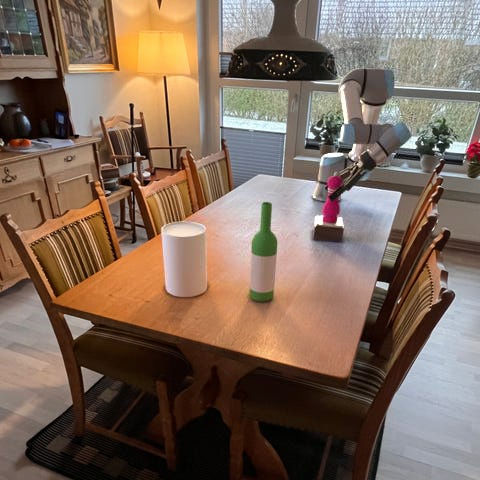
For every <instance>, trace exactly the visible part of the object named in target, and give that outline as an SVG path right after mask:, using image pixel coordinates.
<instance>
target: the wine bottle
mask: <svg viewBox="0 0 480 480" xmlns="http://www.w3.org/2000/svg"><path fill="white" fill-rule="evenodd" d="M260 209H261V210H260V225H259V226H260V227H259V230H258V231H257V232H256V233H254V235H253V236H252V239H251V246H250V247H251V248H250V249H251V250H250V266H249V267H250V268H249V269H250V271H249V297H250V298H251V299H252V300H253V301H256V302H261V303H263V302H268V301H270V300H272V299H273V297H274V294H275V281H276V271H277V270H276V269H277V258H278V257H277V255H278V238H277V236H276V234H275V233H274V231H272V230H271V229H272V228H271V227H272V213H273V203H272V202H269V201H263V202H261V208H260Z"/></svg>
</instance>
